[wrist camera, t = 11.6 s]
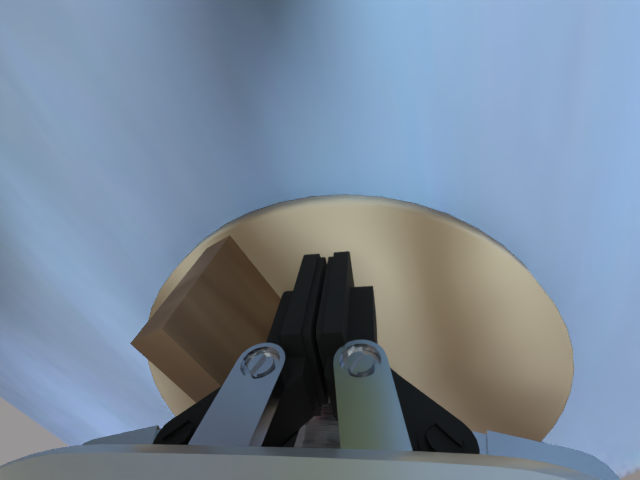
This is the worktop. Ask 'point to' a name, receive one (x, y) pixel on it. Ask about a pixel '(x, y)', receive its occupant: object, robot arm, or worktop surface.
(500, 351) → the turntable
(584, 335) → the worktop surface
